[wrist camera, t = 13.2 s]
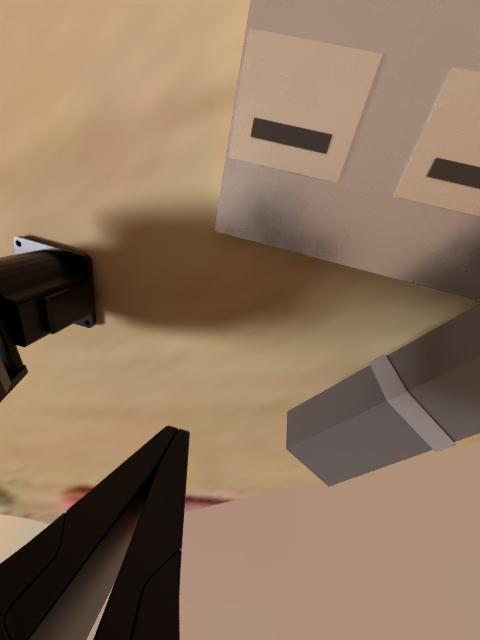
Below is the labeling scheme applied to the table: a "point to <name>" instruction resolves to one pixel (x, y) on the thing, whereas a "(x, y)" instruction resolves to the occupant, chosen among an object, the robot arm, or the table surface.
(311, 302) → the table surface
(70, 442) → the table surface
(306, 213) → the panel
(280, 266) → the table surface
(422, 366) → the bar
